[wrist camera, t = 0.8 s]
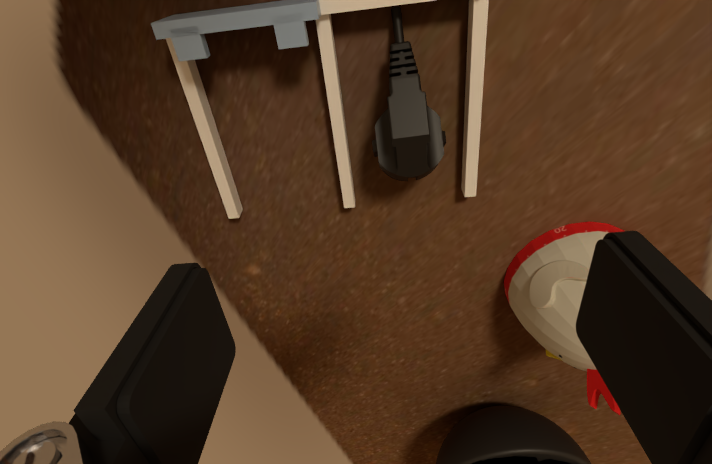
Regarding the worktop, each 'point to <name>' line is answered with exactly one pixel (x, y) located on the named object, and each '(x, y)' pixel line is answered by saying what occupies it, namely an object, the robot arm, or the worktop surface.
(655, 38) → the worktop surface
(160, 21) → the cable organizer
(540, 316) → the kitchen timer
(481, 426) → the coal bowl
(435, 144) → the power plug
